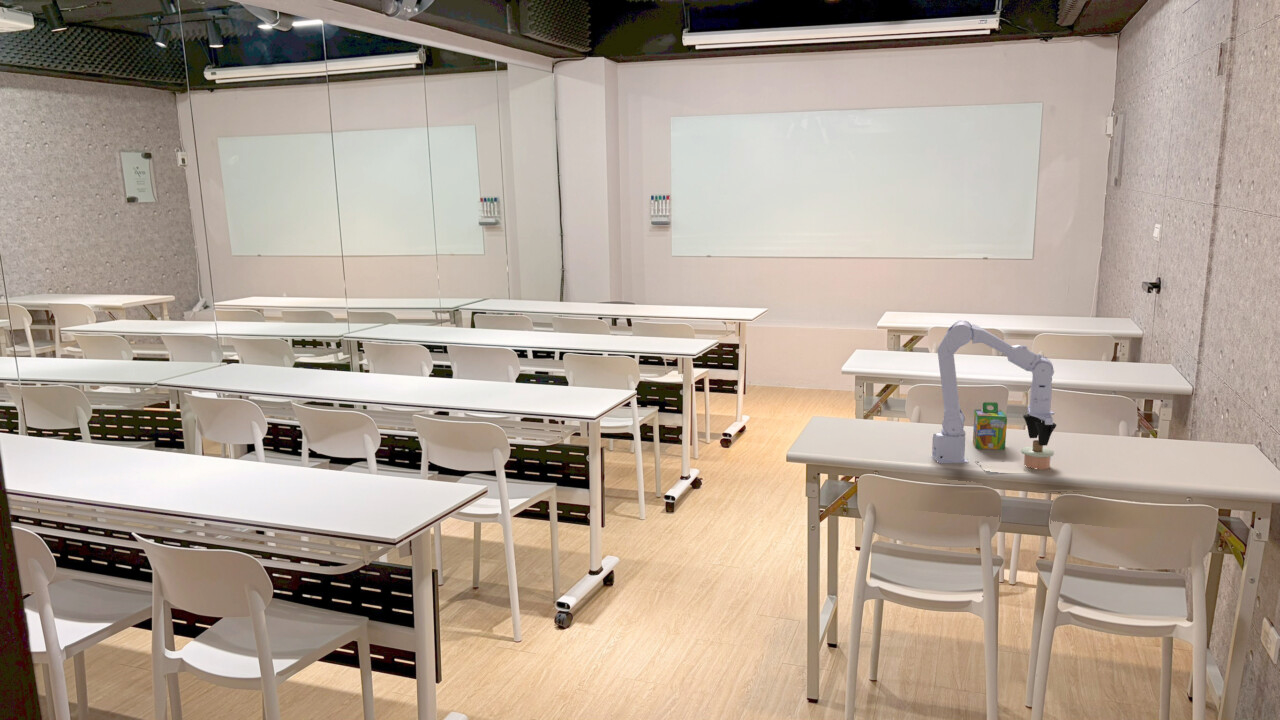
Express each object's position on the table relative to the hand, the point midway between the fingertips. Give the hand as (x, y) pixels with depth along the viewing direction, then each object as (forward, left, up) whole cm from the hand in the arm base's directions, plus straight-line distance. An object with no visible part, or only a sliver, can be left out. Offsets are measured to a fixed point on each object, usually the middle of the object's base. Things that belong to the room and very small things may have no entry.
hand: (1038, 441), depth 260 cm
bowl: (0, 0, -8) cm, 8 cm away
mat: (-11, -1, -8) cm, 14 cm away
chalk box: (-7, +22, -8) cm, 25 cm away
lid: (0, 0, -4) cm, 4 cm away
